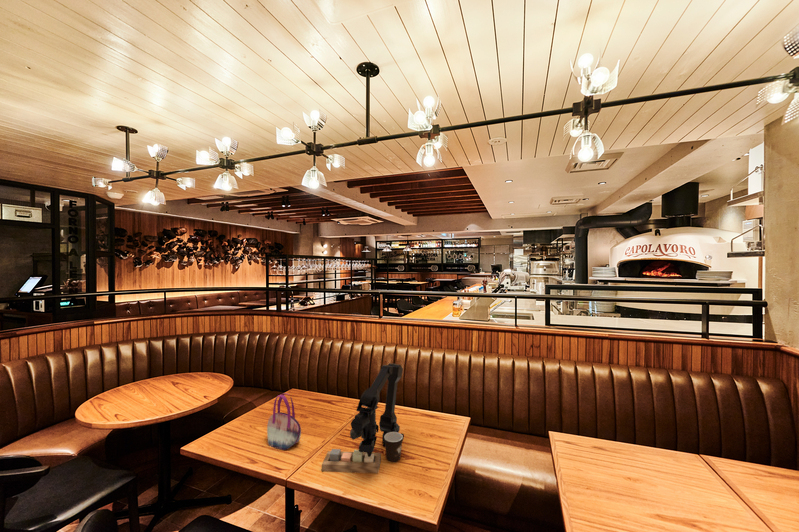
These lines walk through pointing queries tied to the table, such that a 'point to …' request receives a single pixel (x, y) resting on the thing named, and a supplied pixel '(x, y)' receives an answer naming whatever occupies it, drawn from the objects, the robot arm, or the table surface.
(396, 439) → the coffee mug
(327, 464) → the key bezel
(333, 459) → the gray cube
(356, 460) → the key sage
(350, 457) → the pink cube
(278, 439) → the handbag
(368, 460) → the key ivory
